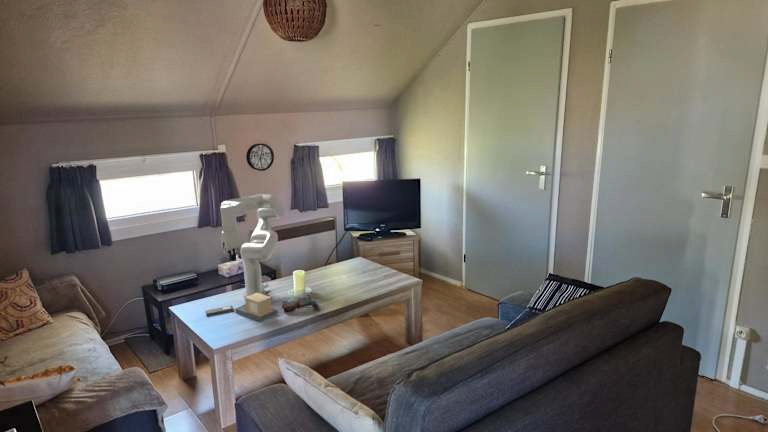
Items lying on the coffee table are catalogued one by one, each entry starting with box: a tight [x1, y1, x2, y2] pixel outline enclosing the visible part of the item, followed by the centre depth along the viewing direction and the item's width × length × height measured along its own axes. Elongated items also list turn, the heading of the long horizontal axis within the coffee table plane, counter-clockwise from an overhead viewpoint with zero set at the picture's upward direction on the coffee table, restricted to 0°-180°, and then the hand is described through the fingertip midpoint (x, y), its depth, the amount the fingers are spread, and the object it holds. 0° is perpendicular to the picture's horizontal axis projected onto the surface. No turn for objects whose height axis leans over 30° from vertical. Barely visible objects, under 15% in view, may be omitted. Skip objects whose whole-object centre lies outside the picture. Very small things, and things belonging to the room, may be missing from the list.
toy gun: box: [281, 295, 322, 314], centre depth 262 cm, size 4×20×10 cm, turn 95°
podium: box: [234, 303, 279, 323], centre depth 261 cm, size 12×20×2 cm, turn 53°
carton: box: [244, 293, 273, 317], centre depth 256 cm, size 8×8×11 cm
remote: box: [205, 305, 235, 317], centre depth 263 cm, size 14×4×2 cm, turn 116°
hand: (233, 260), depth 262 cm, fingers closed
